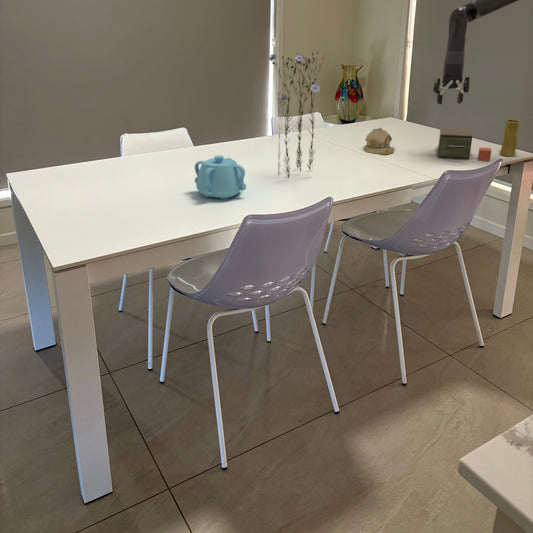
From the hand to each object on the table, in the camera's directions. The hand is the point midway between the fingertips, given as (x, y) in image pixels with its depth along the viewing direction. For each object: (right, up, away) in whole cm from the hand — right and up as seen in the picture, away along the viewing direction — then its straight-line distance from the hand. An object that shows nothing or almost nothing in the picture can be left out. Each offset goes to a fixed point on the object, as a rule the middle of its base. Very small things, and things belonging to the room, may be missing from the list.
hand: (449, 103), depth 240 cm
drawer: (+4, -19, +8) cm, 21 cm away
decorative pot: (-91, -42, -35) cm, 106 cm away
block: (+15, -22, +2) cm, 27 cm away
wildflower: (-64, -32, -15) cm, 73 cm away
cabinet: (+5, -18, +11) cm, 22 cm away
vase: (+27, -19, +9) cm, 35 cm away
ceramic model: (-26, -16, +17) cm, 35 cm away
